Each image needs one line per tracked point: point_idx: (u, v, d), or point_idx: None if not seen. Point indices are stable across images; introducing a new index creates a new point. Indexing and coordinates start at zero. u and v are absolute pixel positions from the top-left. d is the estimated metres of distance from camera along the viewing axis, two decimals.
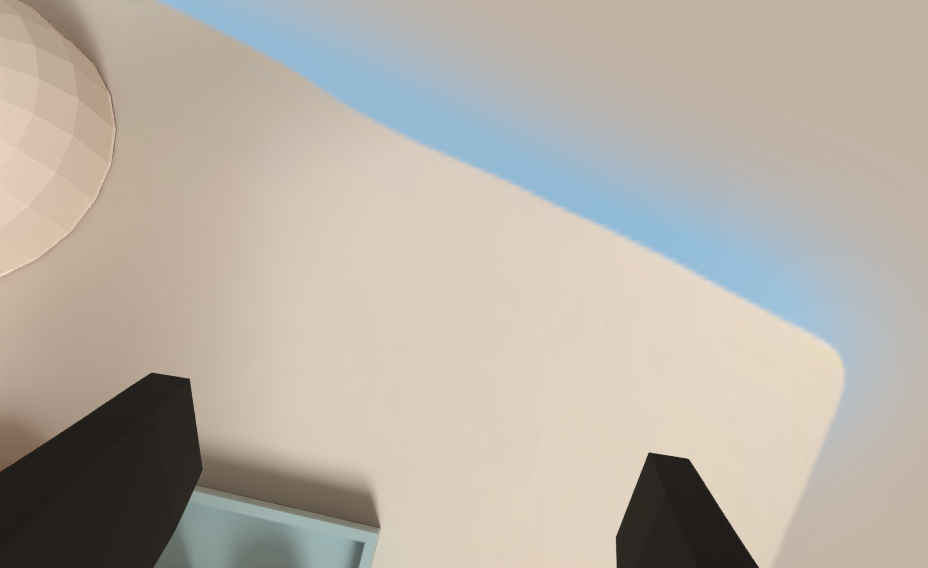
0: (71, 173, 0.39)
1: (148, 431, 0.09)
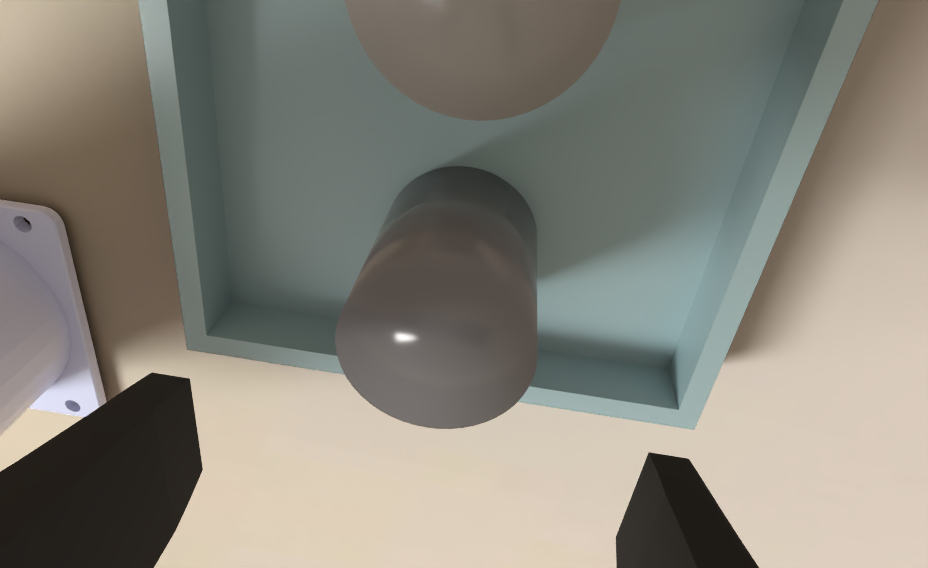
0: None
1: (148, 431, 0.09)
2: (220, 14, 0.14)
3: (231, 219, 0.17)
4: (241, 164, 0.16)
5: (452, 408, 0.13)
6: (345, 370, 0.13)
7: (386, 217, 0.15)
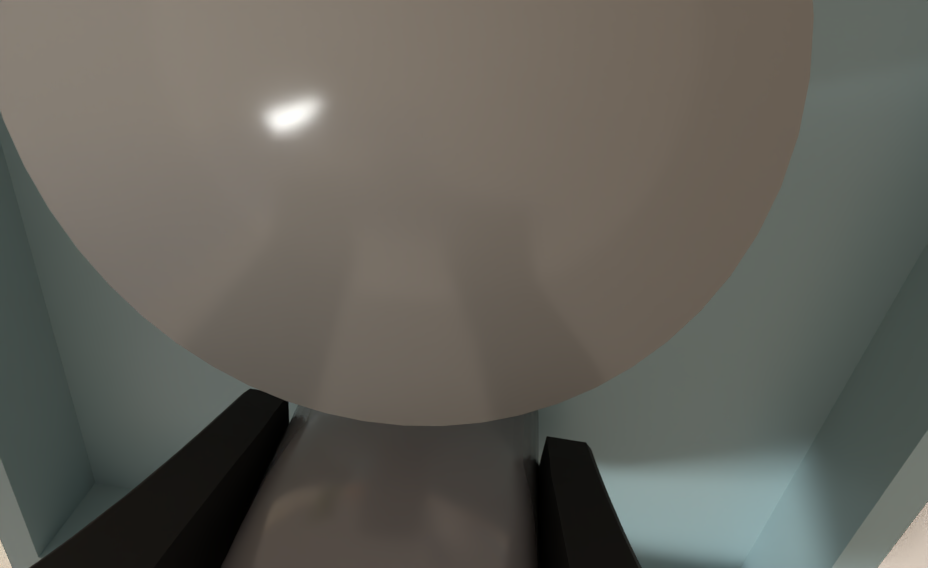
0: None
1: (258, 450, 0.09)
2: None
3: (76, 381, 0.11)
4: (79, 310, 0.10)
5: None
6: None
7: (296, 409, 0.10)
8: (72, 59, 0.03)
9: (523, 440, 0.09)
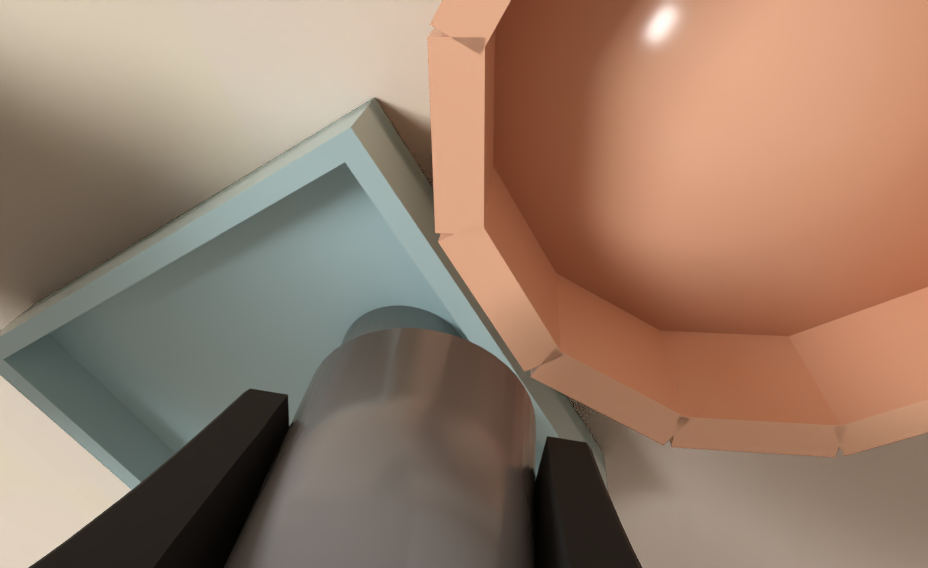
0: None
1: (258, 449, 0.09)
2: (228, 230, 0.18)
3: None
4: (147, 286, 0.19)
5: None
6: None
7: (297, 413, 0.10)
8: None
9: (522, 450, 0.09)
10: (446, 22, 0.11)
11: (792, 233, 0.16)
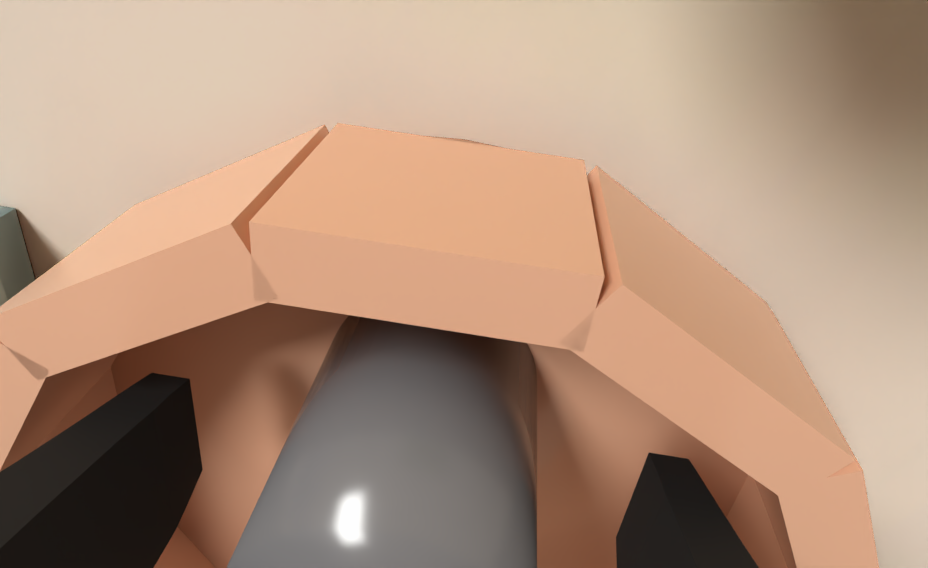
0: None
1: (148, 432, 0.09)
2: None
3: None
4: None
5: None
6: None
7: (324, 361, 0.11)
8: None
9: (526, 395, 0.10)
10: (2, 332, 0.08)
11: None
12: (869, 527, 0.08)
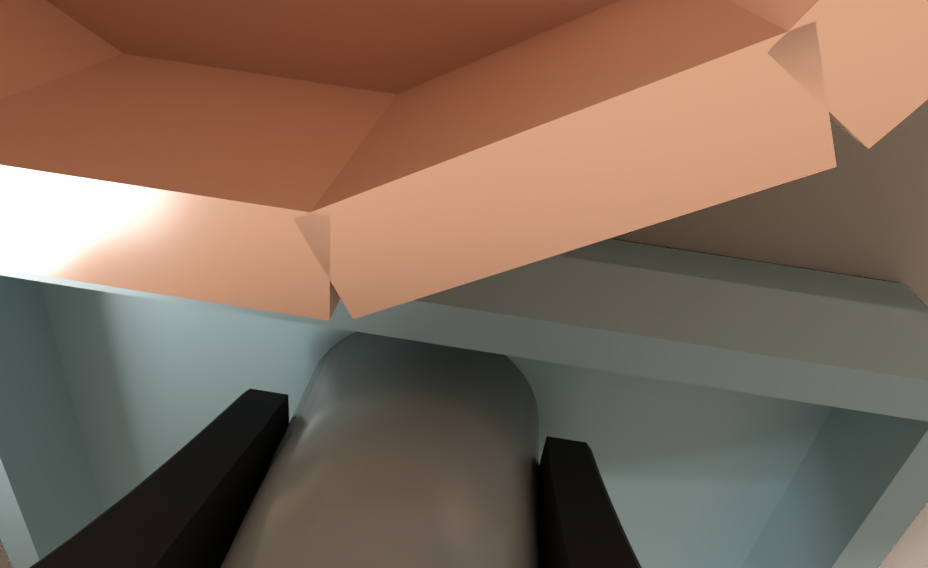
0: None
1: (258, 450, 0.09)
2: (99, 442, 0.12)
3: None
4: None
5: None
6: None
7: None
8: None
9: None
10: None
11: None
12: None
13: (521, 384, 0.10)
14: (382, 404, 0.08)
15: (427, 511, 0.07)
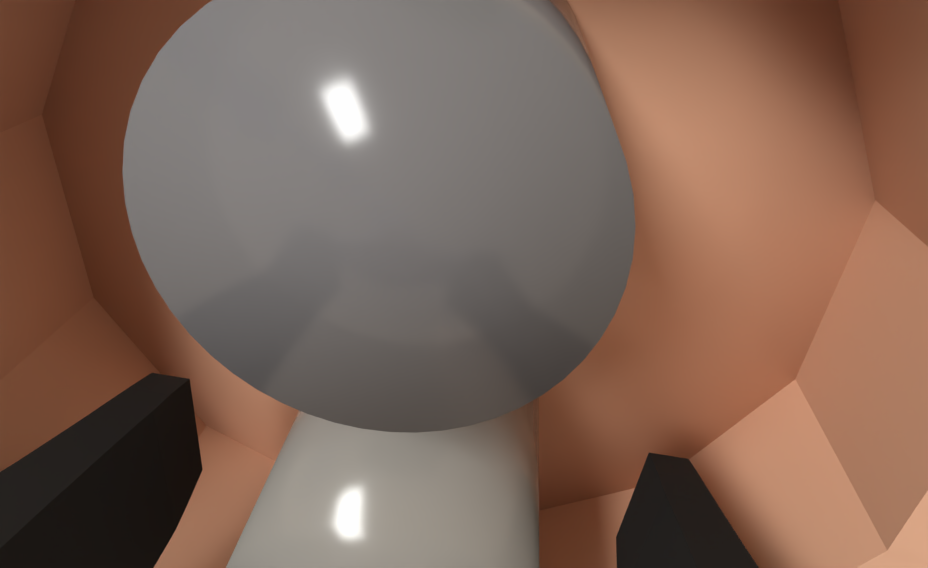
0: None
1: (148, 431, 0.09)
2: None
3: None
4: None
5: (419, 385, 0.06)
6: (163, 291, 0.05)
7: None
8: None
9: (581, 36, 0.07)
10: None
11: None
12: None
13: None
14: None
15: (449, 435, 0.08)
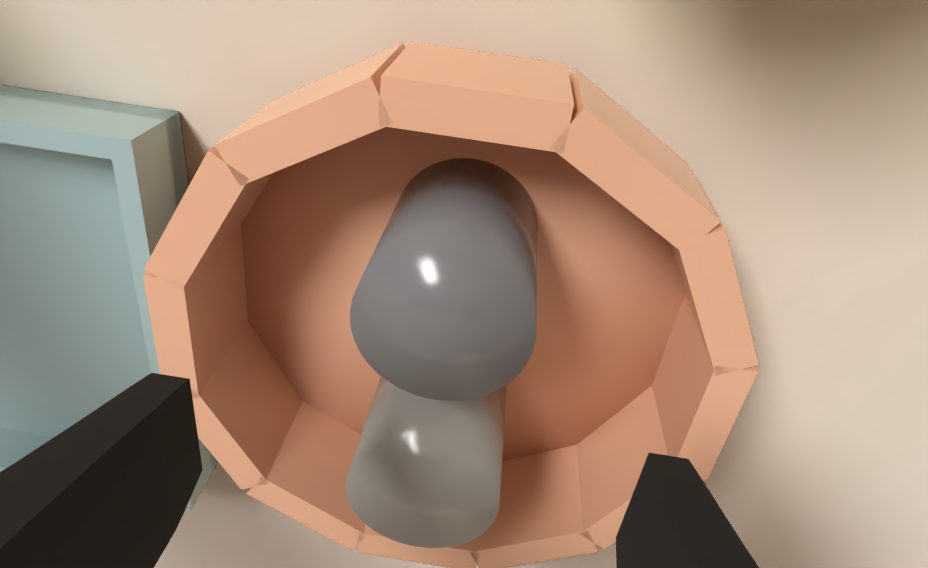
0: None
1: (148, 432, 0.09)
2: None
3: None
4: None
5: (453, 381, 0.14)
6: (356, 340, 0.14)
7: (398, 201, 0.16)
8: (364, 482, 0.16)
9: (530, 222, 0.16)
10: (226, 152, 0.13)
11: None
12: (733, 270, 0.14)
13: None
14: None
15: (460, 406, 0.17)
